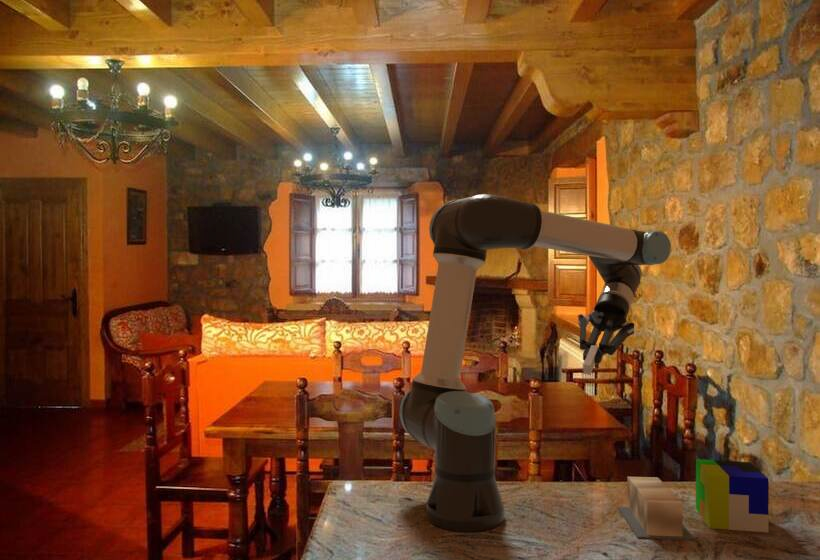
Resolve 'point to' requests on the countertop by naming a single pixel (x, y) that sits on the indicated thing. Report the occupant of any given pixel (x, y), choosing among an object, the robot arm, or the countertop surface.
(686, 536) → the rubber mat
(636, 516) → the beech block
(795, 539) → the countertop surface
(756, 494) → the puzzle toy
